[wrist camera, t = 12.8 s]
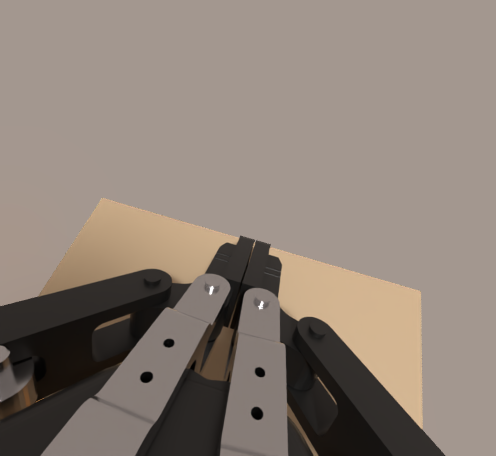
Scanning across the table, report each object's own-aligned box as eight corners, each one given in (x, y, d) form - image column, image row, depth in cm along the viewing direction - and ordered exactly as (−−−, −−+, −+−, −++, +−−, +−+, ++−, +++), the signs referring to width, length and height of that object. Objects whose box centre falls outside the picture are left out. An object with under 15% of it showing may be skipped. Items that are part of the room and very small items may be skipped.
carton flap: (102, 197, 16) (106, 203, 16) (-15, 377, 11) (-5, 377, 12) (420, 291, 14) (413, 294, 15) (423, 527, 10) (413, 520, 11)
